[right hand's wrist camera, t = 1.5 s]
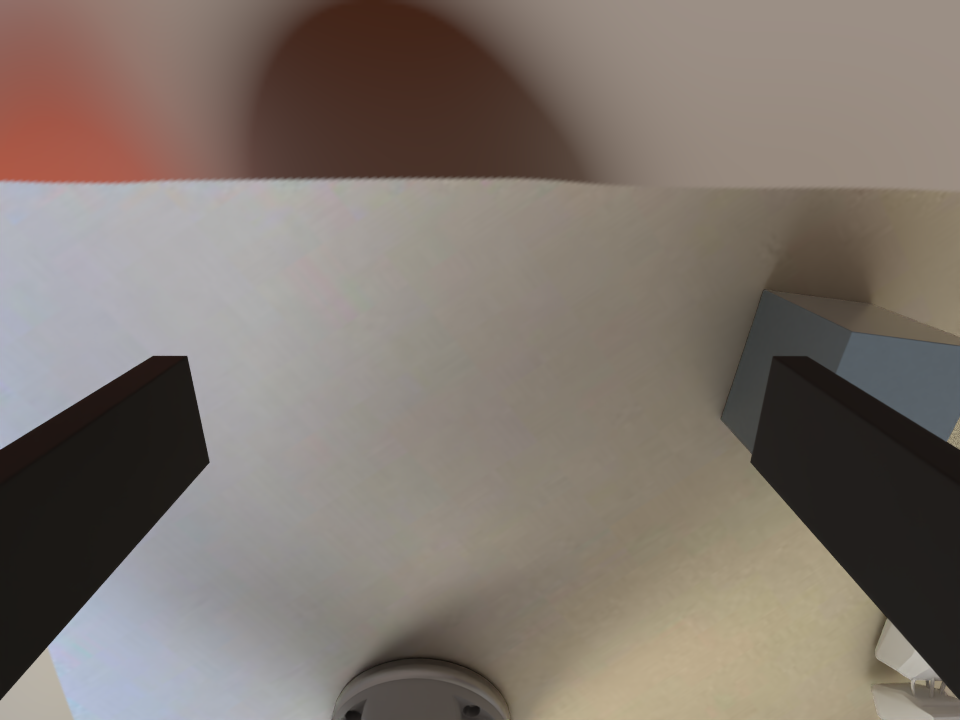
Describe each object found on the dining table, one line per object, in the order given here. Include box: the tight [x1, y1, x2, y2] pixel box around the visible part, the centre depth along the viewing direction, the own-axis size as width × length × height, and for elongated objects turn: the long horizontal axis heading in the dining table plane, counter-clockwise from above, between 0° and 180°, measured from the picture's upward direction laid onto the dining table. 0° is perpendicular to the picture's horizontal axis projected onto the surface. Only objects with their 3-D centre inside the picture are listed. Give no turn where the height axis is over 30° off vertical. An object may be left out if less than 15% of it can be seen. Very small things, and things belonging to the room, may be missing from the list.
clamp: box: [871, 618, 960, 720], centre depth 38 cm, size 20×4×7 cm, turn 3°
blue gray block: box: [721, 290, 960, 454], centre depth 30 cm, size 7×9×8 cm
